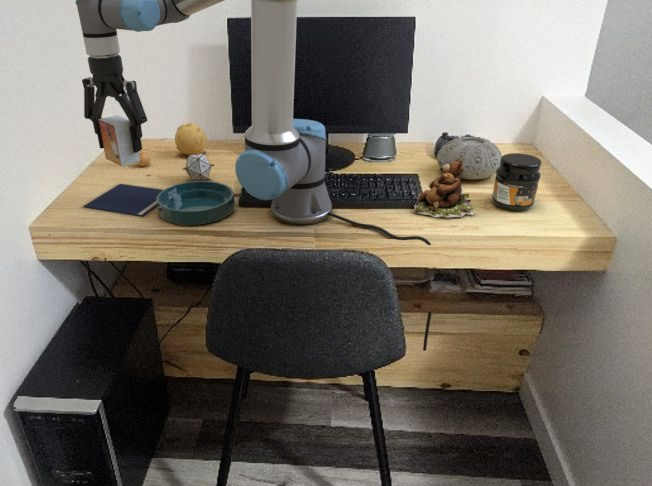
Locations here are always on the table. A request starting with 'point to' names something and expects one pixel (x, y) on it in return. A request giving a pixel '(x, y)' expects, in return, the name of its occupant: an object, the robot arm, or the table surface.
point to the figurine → (143, 159)
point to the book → (127, 200)
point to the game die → (198, 167)
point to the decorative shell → (471, 156)
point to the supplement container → (516, 181)
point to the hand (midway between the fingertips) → (121, 148)
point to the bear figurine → (445, 194)
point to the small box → (118, 140)
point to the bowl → (195, 202)
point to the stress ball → (190, 139)
